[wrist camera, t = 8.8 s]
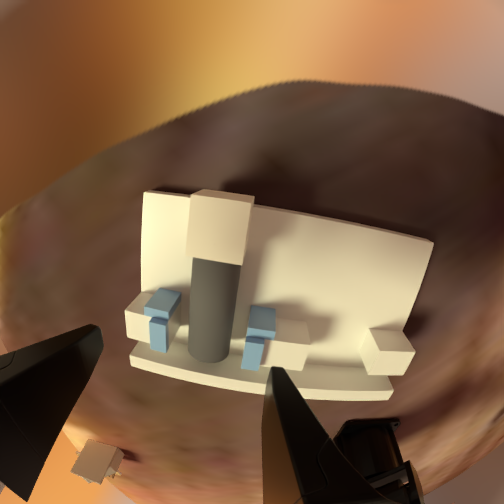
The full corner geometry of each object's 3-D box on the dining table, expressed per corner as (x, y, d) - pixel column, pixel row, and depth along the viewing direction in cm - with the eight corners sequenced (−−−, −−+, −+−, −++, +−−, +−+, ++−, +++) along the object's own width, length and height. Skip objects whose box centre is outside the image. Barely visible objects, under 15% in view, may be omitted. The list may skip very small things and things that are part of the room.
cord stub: (254, 196, 15) (251, 203, 12) (233, 341, 18) (227, 366, 15) (204, 188, 15) (190, 194, 12) (192, 333, 18) (181, 357, 15)
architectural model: (130, 457, 28) (114, 495, 21) (94, 447, 29) (77, 480, 22) (119, 444, 27) (101, 484, 20) (84, 434, 28) (64, 469, 21)
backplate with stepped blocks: (426, 238, 16) (459, 259, 12) (375, 369, 19) (389, 404, 15) (150, 190, 16) (118, 199, 12) (149, 337, 20) (128, 370, 16)
